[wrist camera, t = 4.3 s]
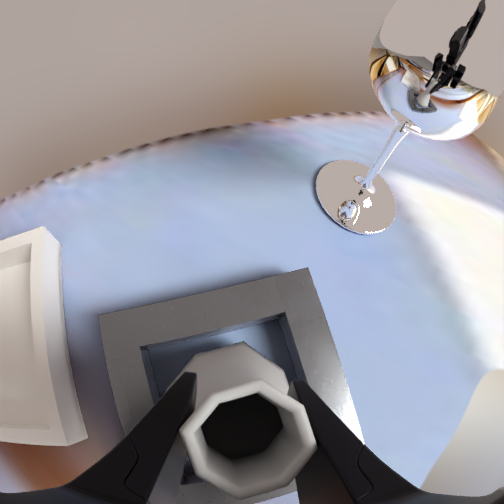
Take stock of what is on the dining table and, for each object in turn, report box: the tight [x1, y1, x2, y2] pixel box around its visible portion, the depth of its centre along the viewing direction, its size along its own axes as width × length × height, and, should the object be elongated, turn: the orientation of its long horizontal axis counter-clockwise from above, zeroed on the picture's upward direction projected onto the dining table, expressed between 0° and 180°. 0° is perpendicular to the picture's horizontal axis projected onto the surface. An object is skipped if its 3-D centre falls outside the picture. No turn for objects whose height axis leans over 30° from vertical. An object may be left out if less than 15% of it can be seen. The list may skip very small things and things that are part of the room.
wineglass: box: [316, 0, 504, 235], centre depth 14 cm, size 8×8×20 cm
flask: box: [165, 341, 318, 500], centre depth 10 cm, size 7×7×10 cm
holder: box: [98, 267, 365, 504], centre depth 15 cm, size 13×13×2 cm
